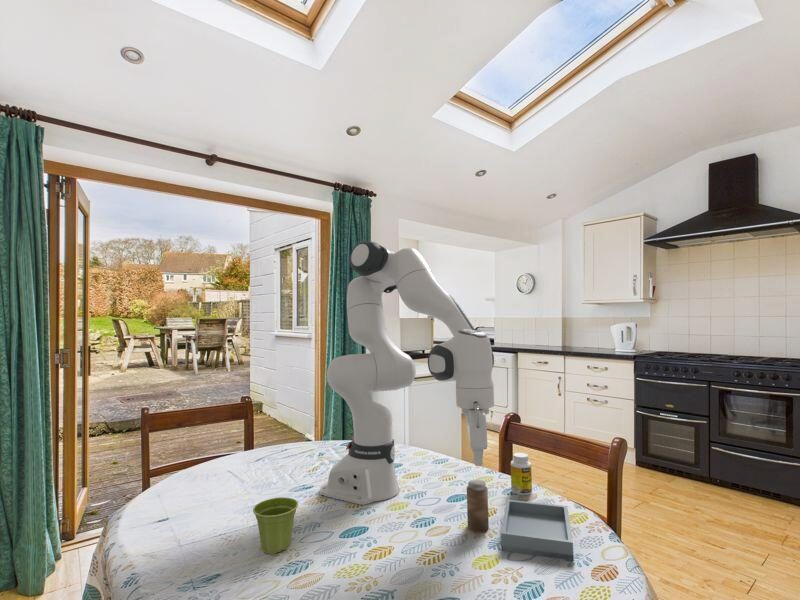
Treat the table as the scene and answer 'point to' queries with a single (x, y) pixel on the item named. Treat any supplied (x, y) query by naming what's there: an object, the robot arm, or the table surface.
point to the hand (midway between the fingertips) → (477, 458)
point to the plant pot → (275, 523)
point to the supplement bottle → (521, 474)
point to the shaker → (477, 506)
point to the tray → (537, 529)
